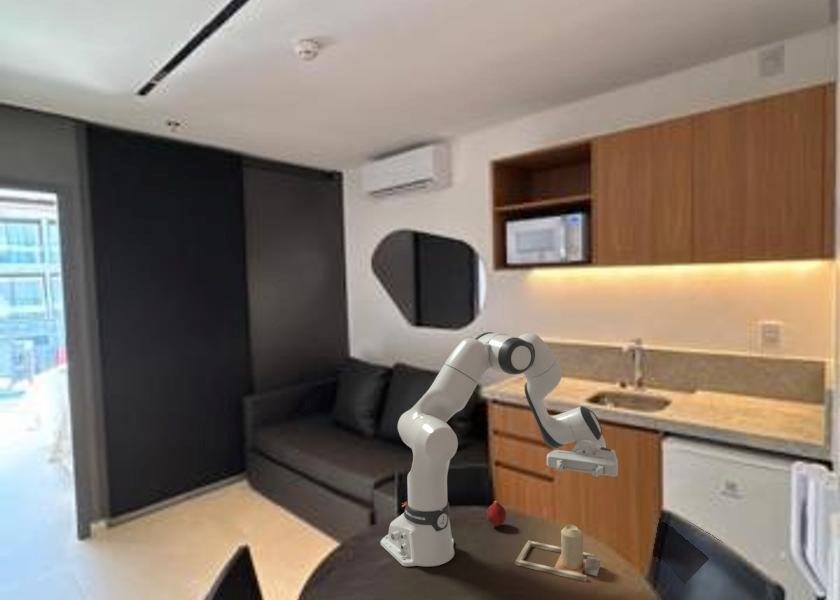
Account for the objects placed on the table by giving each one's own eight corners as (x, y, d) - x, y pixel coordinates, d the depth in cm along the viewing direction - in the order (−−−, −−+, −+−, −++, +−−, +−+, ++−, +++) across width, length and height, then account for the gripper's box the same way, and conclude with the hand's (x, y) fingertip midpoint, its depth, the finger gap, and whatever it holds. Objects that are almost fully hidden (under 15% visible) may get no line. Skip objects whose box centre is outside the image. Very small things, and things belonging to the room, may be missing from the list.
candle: (584, 570, 131) (583, 532, 131) (562, 569, 132) (561, 531, 132) (582, 559, 136) (581, 522, 136) (560, 558, 137) (560, 521, 137)
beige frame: (515, 564, 135) (515, 557, 135) (528, 543, 146) (528, 536, 146) (594, 583, 126) (594, 575, 126) (602, 559, 137) (601, 552, 136)
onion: (496, 520, 161) (495, 495, 161) (510, 526, 157) (509, 500, 157) (483, 526, 158) (482, 500, 157) (497, 532, 153) (496, 506, 153)
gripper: (551, 442, 161) (540, 455, 148) (620, 451, 151) (614, 465, 139) (552, 462, 161) (540, 476, 149) (621, 472, 151) (615, 488, 139)
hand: (577, 471), depth 144 cm, fingers open, 8 cm apart
